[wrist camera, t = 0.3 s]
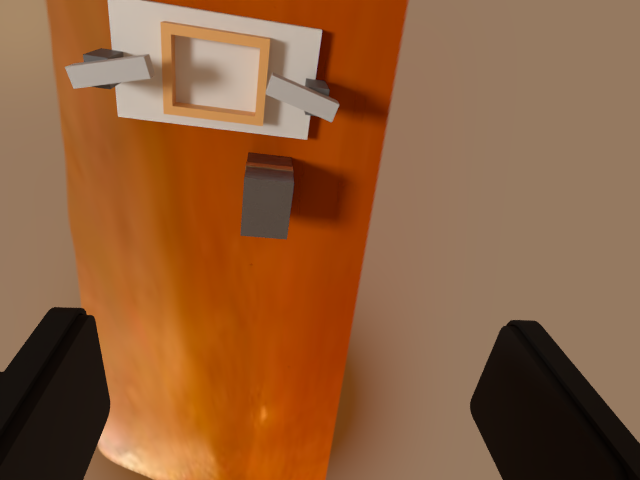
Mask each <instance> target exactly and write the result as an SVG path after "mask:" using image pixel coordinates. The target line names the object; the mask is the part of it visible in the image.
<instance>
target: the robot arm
mask: <svg viewBox="0 0 640 480" xmlns="http://www.w3.org/2000/svg"><path fill="white" fill-rule="evenodd" d="M470 410H471V414H472V417H473V419H474V421H475V423H476V425H477V427H478V429H479V431H480V433H481V435H482V437H483V439H484V442H485V443H486V446H487V448H488V450H489V452H490V454H491V456H492V458H493V460H494V462H495V464H496V466H497V469H498V471H499V473H500V475H501V477H502V479H503V480H640V443H639V442H638V441H637V440H636V439H635V438H634V436H633V435H632V434H631V433H630V431H629V430H628V429H627V428H626V427H625V425H624V424H623V423H622V422H621V421H620V420H619V418H618V417H617V416H616V415H615V414H614V412H613V411H612V410H611V409H610V407H609V406H608V405H607V404H606V403H605V401H604V400H603V399H602V398H601V397H600V395H599V394H598V393H597V392H596V391H595V389H594V388H593V387H592V386H591V385H590V383H589V382H588V381H587V380H586V379H585V377H584V376H583V375H582V374H581V373H580V371H579V370H578V369H577V368H576V367H575V365H574V364H573V363H572V362H571V361H570V359H569V358H568V357H567V356H566V355H565V353H564V352H563V351H562V350H561V349H560V347H559V346H558V345H557V344H556V343H555V341H554V340H553V339H552V338H551V337H550V335H549V334H548V333H547V332H546V331H545V329H544V328H543V327H542V326H541V325H540V324H539V323H538V322H536V321H524V320H512V321H510V322H509V323H508V324H507V325H506V326H503V327H502V328H501V330H500V332H499V335H498V337H497V339H496V342H495V344H494V347H493V349H492V351H491V354H490V356H489V358H488V361H487V363H486V365H485V368H484V370H483V372H482V375H481V377H480V380H479V382H478V384H477V387H476V389H475V392H474V394H473V396H472V399H471V402H470ZM109 411H110V397H109V392H108V387H107V381H106V376H105V370H104V365H103V360H102V354H101V349H100V344H99V338H98V333H97V327H96V322H95V318H94V316H92V315H87V314H86V311H85V310H84V309H83V308H60V307H54V308H51V309H50V310H49V311H48V312H47V314H46V315H45V316H44V318H43V319H42V320H41V322H40V323H39V324H38V326H37V327H36V328H35V330H34V331H33V333H32V334H31V335H30V337H29V338H28V339H27V341H26V342H25V344H24V345H23V346H22V348H21V349H20V350H19V352H18V353H17V354H16V356H15V357H14V359H13V360H12V361H11V363H10V364H9V365H8V367H7V368H6V370H5V371H4V372H0V480H83V479H84V476H85V474H86V471H87V469H88V466H89V464H90V461H91V458H92V456H93V454H94V451H95V449H96V446H97V444H98V441H99V439H100V436H101V434H102V431H103V429H104V426H105V424H106V421H107V418H108V415H109Z"/></svg>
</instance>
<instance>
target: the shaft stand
mask: <svg viewBox="0 0 640 480" xmlns="http://www.w3.org/2000/svg"><path fill="white" fill-rule="evenodd" d="M108 9H109V20H110V31H111V43H112V50H109V49H102V48H101V49H98V50H95V51H92V52H89V53H86V54H83V57H84V62H83V63H76V64H72V65H69V66H66V67H65V68H66V71H67V73H68V76H69V78H70V81H71V83H72V86H73V88H74V89H75V88H83V87H98V88H105V89H112V88H113V87H115V88H116V99H117V111H118V117H126V118H134V119H142V120H150V121H158V122H166V123H175V124H183V125H191V126H199V127H207V128H215V129H224V130H232V131H240V132H248V133H256V134H264V135H273V136H281V137H289V138H297V139H305V140H307V136H308V129H309V122H310V116H318V117H320V118H323V119H325V120H327V121H330V122H332V121H333V118H334V116H335V114H336V112H337V109H338V107H339V103H338V101H337V100H335V99H333V98H330V97H329V91H330V89H329V88H328V86H327V84H326V82H325V81H321V80H315V79H316V72H317V65H318V58H319V51H320V43H321V36H322V30H321V29H316V28H310V27H304V26H298V25H292V24H286V23H280V22H274V21H268V20H262V19H256V18H250V17H244V16H238V15H232V14H226V13H220V12H214V11H208V10H202V9H196V8H190V7H183V6H177V5H171V4H165V3H159V2H153V1H147V0H108Z"/></svg>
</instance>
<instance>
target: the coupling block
mask: <svg viewBox="0 0 640 480" xmlns="http://www.w3.org/2000/svg"><path fill="white" fill-rule="evenodd" d="M293 188H294V177H293V167H292V158H291V157H284V156H276V155H267V154H258V153H249V152H248V159H247V162H246V171H245V178H244V192H243V207H242V222H241V236H253V237H265V238H277V239H287V234H288V226H289V218H290V211H291V203H292V196H293Z"/></svg>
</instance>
